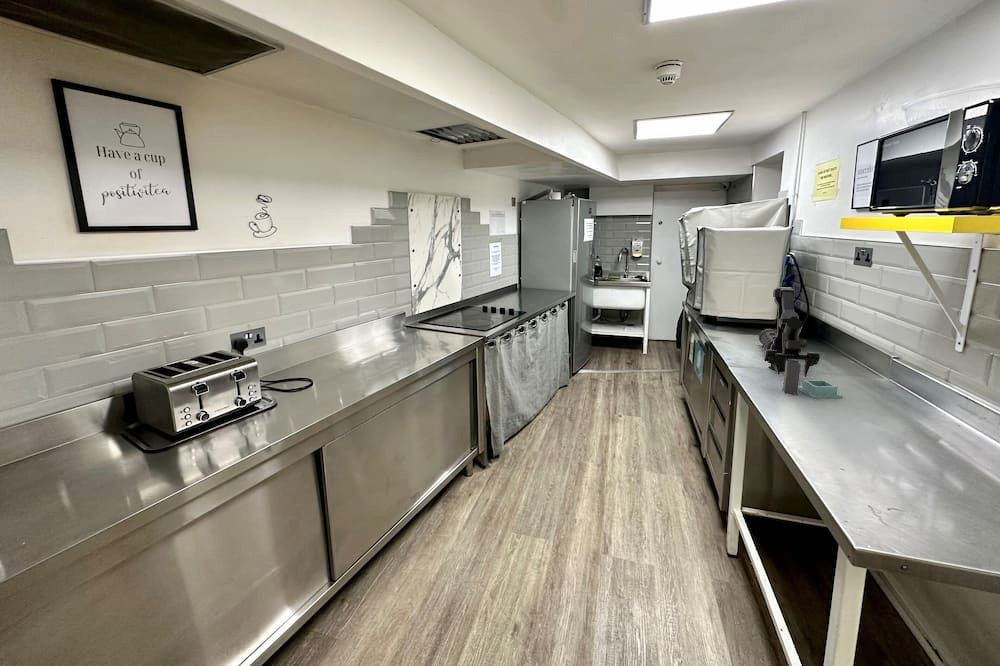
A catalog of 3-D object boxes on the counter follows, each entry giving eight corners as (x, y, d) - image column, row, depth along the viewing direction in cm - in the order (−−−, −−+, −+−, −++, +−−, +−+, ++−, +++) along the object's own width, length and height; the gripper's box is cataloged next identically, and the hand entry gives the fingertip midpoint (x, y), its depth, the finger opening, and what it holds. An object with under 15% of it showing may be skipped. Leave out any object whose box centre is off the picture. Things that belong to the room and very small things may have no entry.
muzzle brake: (765, 358, 229) (767, 338, 227) (757, 345, 254) (758, 327, 252) (787, 359, 226) (789, 339, 223) (776, 346, 251) (778, 328, 249)
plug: (782, 389, 186) (786, 359, 183) (795, 390, 184) (798, 360, 181) (784, 393, 182) (787, 362, 179) (797, 394, 180) (800, 363, 177)
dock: (796, 388, 187) (797, 379, 186) (824, 388, 186) (826, 378, 185) (812, 397, 176) (813, 388, 175) (842, 397, 175) (843, 388, 174)
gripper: (767, 330, 186) (768, 363, 178) (821, 333, 178) (824, 367, 171) (763, 344, 195) (764, 376, 187) (815, 347, 187) (817, 380, 180)
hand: (792, 375), depth 181 cm, fingers open, 9 cm apart
